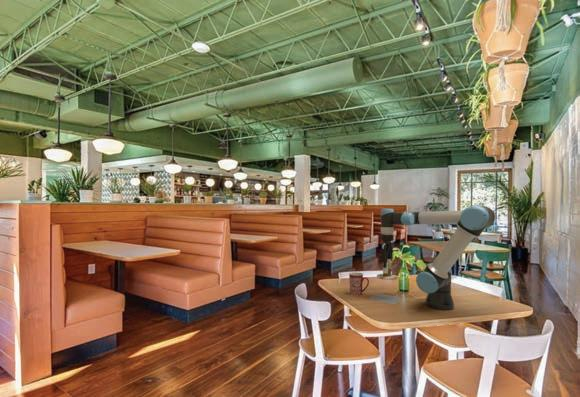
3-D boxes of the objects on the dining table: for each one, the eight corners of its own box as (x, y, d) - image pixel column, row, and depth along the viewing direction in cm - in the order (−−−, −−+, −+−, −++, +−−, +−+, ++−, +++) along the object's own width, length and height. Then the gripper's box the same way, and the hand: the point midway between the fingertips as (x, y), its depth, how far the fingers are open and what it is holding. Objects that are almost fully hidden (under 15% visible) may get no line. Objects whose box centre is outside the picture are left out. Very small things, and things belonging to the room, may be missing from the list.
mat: (403, 299, 196) (403, 298, 196) (393, 305, 184) (393, 304, 184) (378, 294, 206) (378, 293, 206) (368, 299, 194) (368, 298, 194)
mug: (346, 295, 202) (347, 274, 202) (350, 292, 210) (351, 271, 210) (366, 298, 196) (367, 276, 196) (370, 295, 204) (370, 273, 204)
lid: (400, 277, 196) (400, 259, 196) (393, 280, 187) (393, 261, 187) (381, 274, 203) (381, 257, 204) (373, 277, 194) (373, 259, 194)
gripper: (386, 232, 205) (386, 269, 204) (375, 234, 191) (375, 273, 190) (398, 233, 200) (398, 270, 200) (387, 235, 186) (387, 275, 186)
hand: (387, 272), depth 195 cm, fingers closed on lid, 5 cm apart
